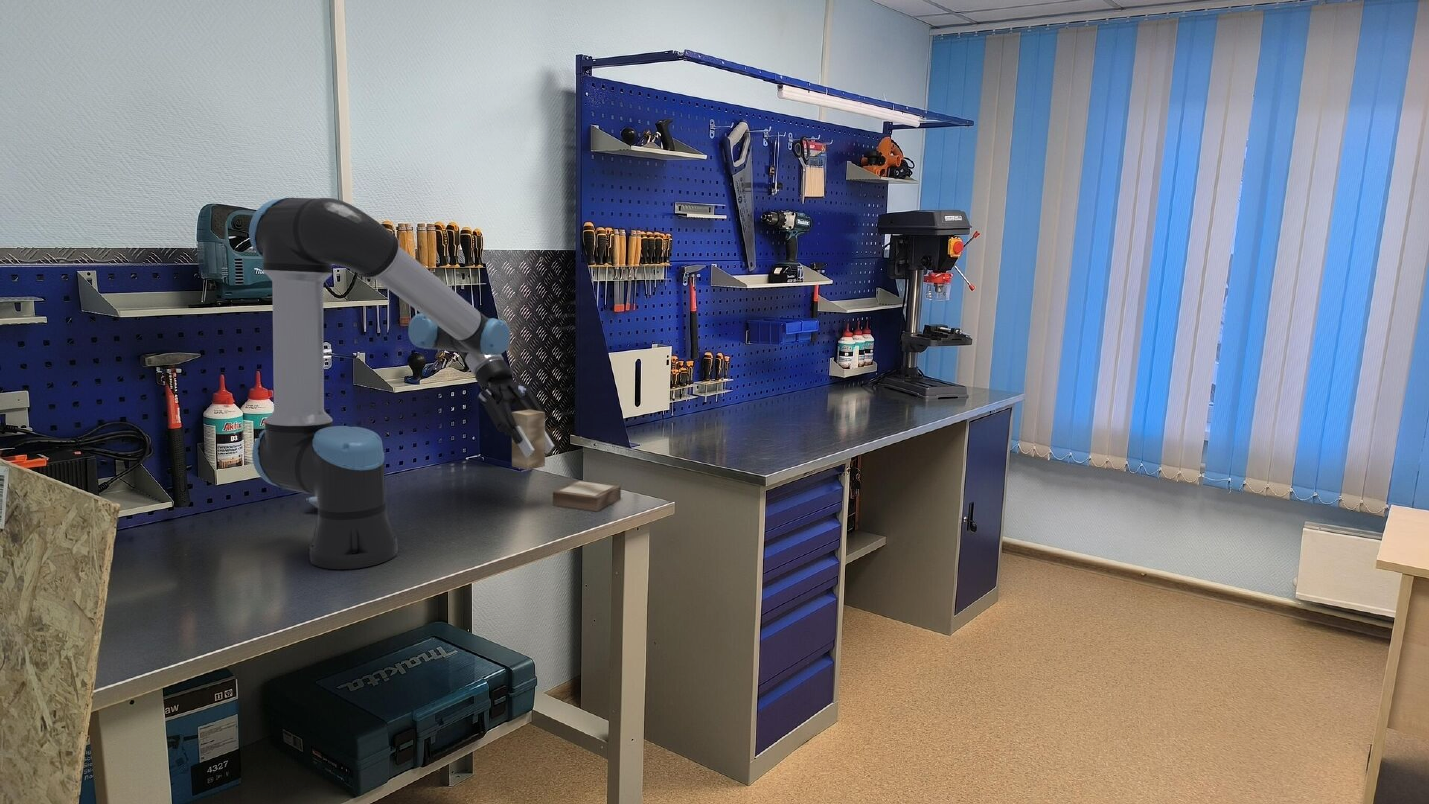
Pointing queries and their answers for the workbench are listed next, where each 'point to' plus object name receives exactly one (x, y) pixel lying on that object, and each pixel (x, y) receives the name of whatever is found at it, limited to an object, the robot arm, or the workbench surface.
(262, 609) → the workbench surface
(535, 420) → the oak block
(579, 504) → the plinth
